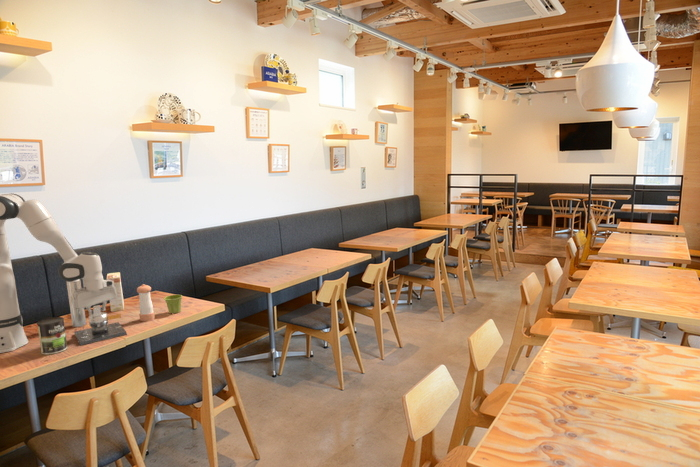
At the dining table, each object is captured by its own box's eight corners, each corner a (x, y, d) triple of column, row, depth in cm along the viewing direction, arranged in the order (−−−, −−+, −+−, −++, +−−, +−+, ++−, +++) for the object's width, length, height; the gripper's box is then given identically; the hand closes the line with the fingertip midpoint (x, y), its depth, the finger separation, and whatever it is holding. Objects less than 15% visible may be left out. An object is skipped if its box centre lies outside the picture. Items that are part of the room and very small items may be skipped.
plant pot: (178, 314, 260) (176, 299, 258) (162, 314, 261) (160, 299, 260) (186, 309, 269) (185, 294, 267) (171, 309, 270) (170, 294, 269)
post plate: (80, 345, 221) (78, 335, 220) (74, 334, 236) (73, 324, 235) (126, 334, 232) (125, 324, 231) (118, 324, 247) (117, 315, 247)
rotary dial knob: (89, 328, 227) (87, 311, 226) (89, 322, 236) (87, 305, 235) (121, 323, 234) (119, 305, 232) (120, 317, 243) (118, 300, 241)
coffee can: (72, 347, 218) (68, 318, 216) (49, 356, 209) (44, 325, 207) (59, 344, 223) (55, 315, 221) (36, 352, 214) (31, 322, 212)
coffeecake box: (111, 305, 284) (107, 273, 281) (124, 303, 287) (120, 271, 284) (110, 312, 270) (106, 278, 267) (124, 310, 273) (120, 276, 270)
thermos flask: (82, 327, 247) (75, 280, 243) (69, 327, 247) (63, 280, 243) (89, 322, 253) (83, 276, 249) (77, 323, 253) (70, 277, 249)
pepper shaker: (154, 316, 259) (150, 281, 256) (154, 320, 253) (150, 285, 250) (140, 318, 257) (136, 283, 254) (139, 322, 250) (135, 286, 247)
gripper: (76, 291, 220) (80, 319, 222) (116, 280, 238) (120, 307, 240) (68, 290, 223) (72, 318, 225) (108, 279, 241) (112, 305, 243)
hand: (97, 312), depth 233 cm, fingers closed on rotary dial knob, 5 cm apart
